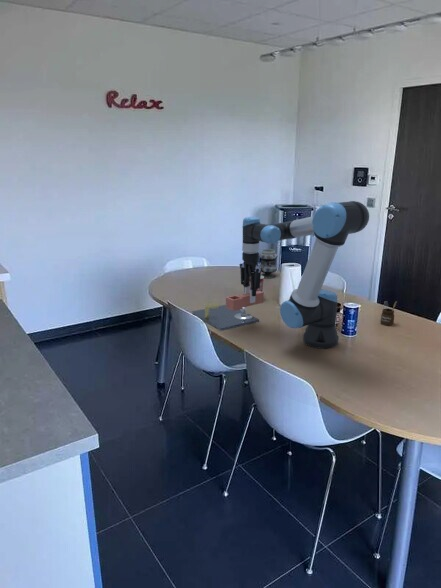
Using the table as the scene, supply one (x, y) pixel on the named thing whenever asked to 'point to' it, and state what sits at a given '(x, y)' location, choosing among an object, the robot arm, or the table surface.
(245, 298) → the link
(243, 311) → the pintle
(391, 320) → the utensil holder
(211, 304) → the block
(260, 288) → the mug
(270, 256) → the apothecary jar
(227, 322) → the plate
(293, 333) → the table surface
